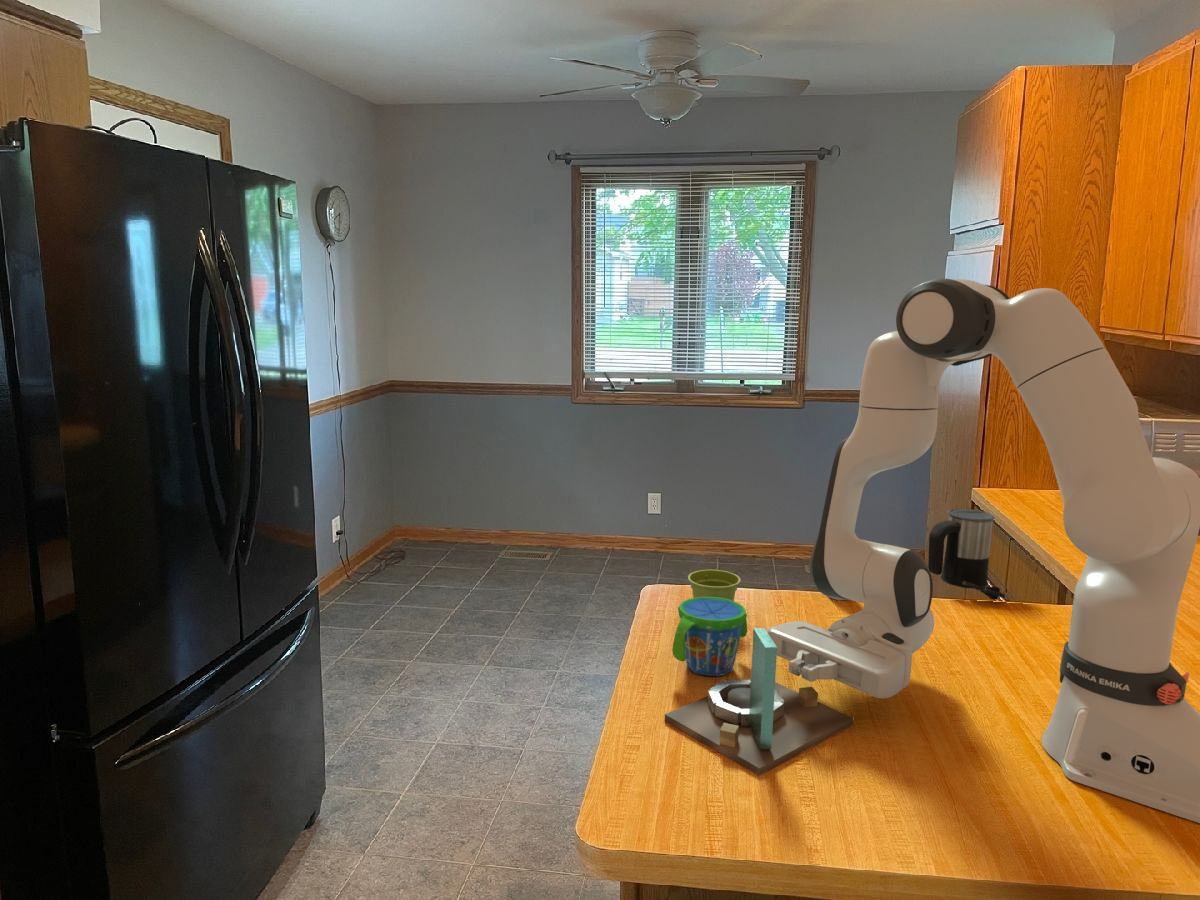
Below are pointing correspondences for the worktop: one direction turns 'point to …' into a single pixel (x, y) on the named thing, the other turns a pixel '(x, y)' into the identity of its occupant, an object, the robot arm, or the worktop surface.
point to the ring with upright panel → (753, 693)
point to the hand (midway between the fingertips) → (799, 672)
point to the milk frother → (963, 550)
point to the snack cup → (709, 634)
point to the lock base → (790, 732)
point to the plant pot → (714, 584)
